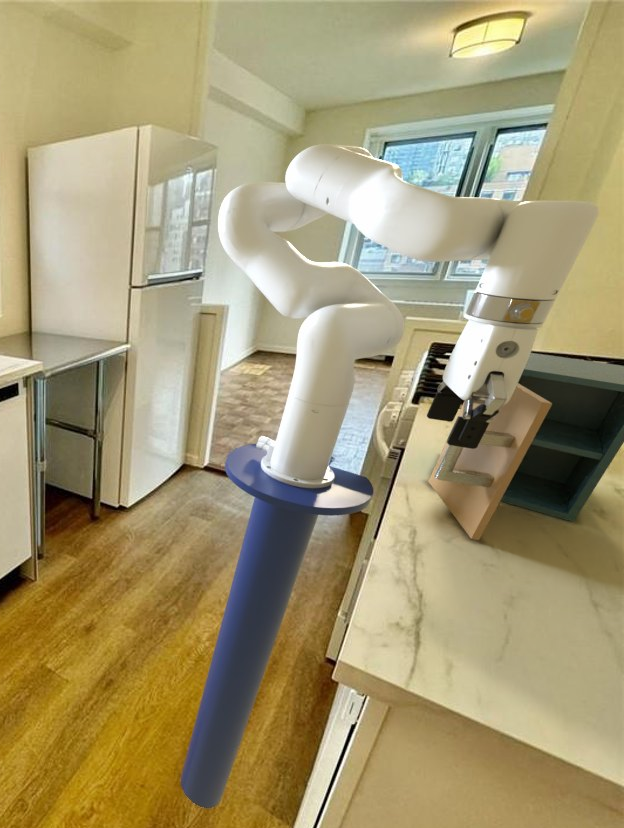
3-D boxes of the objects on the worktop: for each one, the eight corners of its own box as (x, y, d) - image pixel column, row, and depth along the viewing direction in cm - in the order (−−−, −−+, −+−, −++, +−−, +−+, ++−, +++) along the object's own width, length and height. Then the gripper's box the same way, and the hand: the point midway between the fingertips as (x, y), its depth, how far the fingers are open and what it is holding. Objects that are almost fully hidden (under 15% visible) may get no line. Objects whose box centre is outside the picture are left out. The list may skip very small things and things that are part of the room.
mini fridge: (573, 522, 76) (657, 389, 66) (431, 481, 87) (485, 362, 77) (569, 489, 85) (642, 368, 75) (441, 456, 96) (490, 347, 86)
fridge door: (420, 529, 73) (482, 396, 64) (387, 475, 89) (433, 360, 79) (479, 540, 71) (553, 403, 61) (434, 482, 86) (488, 365, 77)
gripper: (582, 327, 53) (507, 464, 61) (515, 301, 67) (461, 414, 75) (496, 320, 55) (434, 452, 63) (448, 296, 69) (403, 406, 77)
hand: (449, 432), depth 69 cm, fingers open, 9 cm apart
